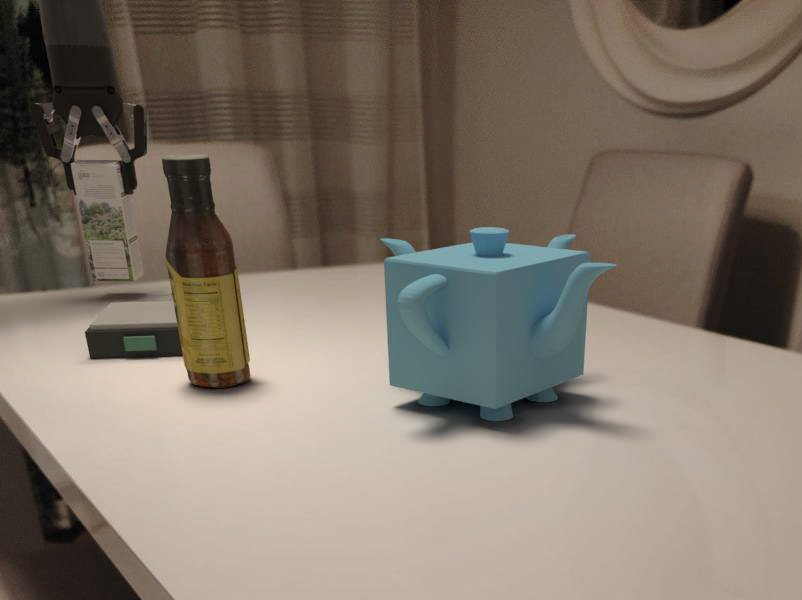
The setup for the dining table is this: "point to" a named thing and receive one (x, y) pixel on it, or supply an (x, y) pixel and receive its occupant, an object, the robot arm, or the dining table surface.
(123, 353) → the scale
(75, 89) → the robot arm
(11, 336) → the dining table surface
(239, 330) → the sauce bottle
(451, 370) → the teakettle
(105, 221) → the syrup box
